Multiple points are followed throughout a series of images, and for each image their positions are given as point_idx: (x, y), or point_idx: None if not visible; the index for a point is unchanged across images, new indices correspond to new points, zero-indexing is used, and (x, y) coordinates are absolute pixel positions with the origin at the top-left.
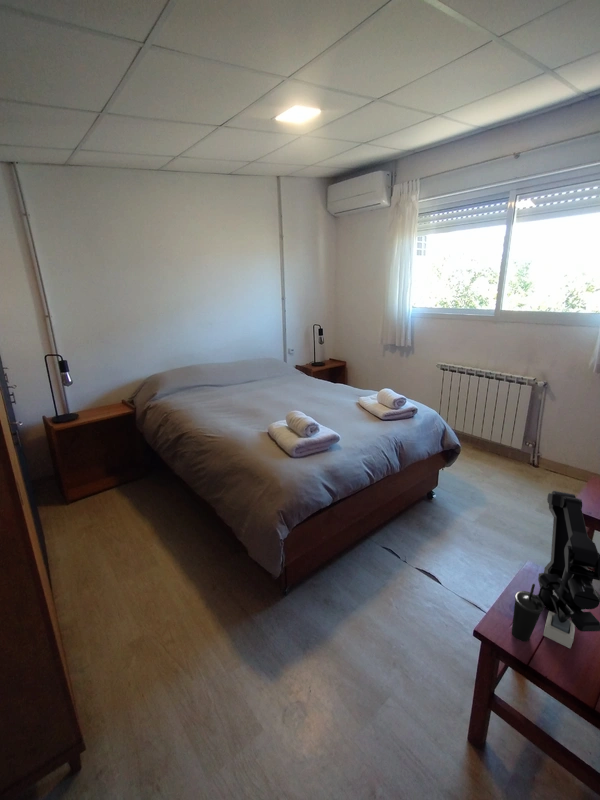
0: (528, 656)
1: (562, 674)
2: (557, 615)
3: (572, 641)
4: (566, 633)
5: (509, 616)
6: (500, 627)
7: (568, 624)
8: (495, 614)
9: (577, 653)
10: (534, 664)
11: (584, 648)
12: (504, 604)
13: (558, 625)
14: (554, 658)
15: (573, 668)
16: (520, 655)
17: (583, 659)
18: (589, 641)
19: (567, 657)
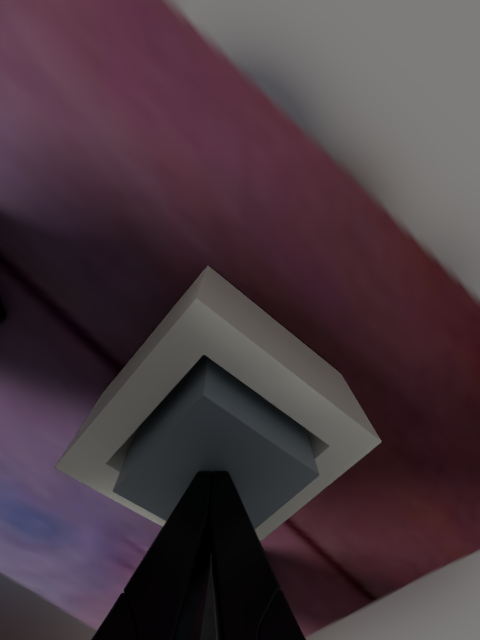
0: (347, 590)
1: (469, 505)
2: (134, 480)
3: (367, 422)
4: (317, 463)
5: (102, 572)
6: None
7: (252, 438)
8: (98, 620)
9: (379, 348)
10: (390, 586)
11: (352, 269)
12: (10, 562)
13: (255, 522)
14: (381, 494)
15: (458, 436)
16: (337, 614)
17: (425, 339)
18: (299, 172)
19: (390, 426)
